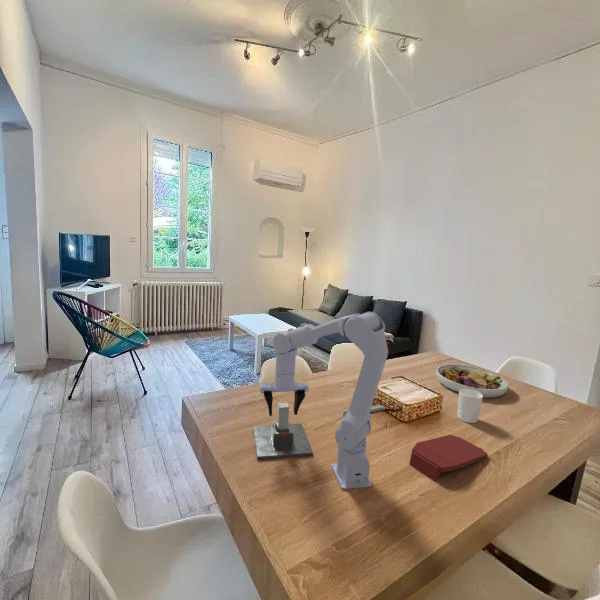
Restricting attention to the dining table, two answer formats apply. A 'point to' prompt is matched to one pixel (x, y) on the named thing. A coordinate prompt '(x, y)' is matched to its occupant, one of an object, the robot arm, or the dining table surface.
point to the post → (282, 417)
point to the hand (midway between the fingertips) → (282, 413)
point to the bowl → (471, 380)
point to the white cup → (469, 405)
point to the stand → (281, 442)
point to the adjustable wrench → (373, 409)
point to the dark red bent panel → (444, 455)
